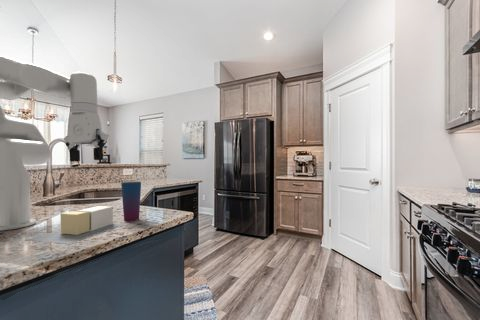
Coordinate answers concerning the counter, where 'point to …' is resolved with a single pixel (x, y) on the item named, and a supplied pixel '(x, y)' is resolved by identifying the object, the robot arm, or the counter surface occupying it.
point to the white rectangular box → (99, 216)
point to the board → (71, 235)
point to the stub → (74, 222)
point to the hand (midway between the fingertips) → (86, 160)
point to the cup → (131, 200)
